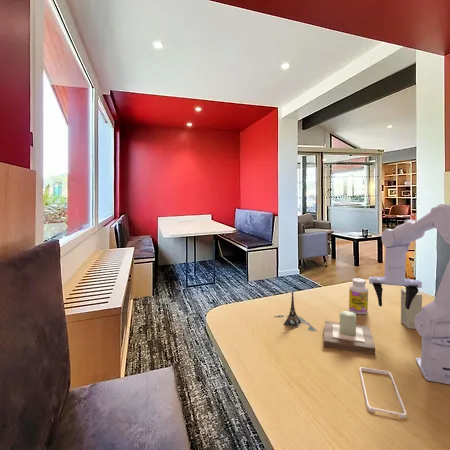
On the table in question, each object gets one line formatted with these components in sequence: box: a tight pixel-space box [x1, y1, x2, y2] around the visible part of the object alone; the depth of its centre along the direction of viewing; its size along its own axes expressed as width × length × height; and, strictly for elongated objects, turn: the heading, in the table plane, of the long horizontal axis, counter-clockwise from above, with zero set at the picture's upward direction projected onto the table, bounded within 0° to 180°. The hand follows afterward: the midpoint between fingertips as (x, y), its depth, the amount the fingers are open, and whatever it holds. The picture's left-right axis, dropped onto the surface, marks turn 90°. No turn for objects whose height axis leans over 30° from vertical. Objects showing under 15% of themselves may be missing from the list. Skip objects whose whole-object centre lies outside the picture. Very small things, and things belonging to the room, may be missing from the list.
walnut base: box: [323, 320, 376, 356], centre depth 89 cm, size 14×14×2 cm
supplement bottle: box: [348, 277, 369, 315], centre depth 108 cm, size 7×7×13 cm
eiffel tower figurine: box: [273, 289, 317, 332], centre depth 100 cm, size 15×10×13 cm
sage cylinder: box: [339, 310, 357, 336], centre depth 88 cm, size 5×5×6 cm
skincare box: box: [400, 288, 423, 330], centre depth 96 cm, size 6×4×12 cm
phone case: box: [359, 366, 407, 419], centre depth 65 cm, size 7×1×15 cm
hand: (393, 306), depth 90 cm, fingers open, 7 cm apart
